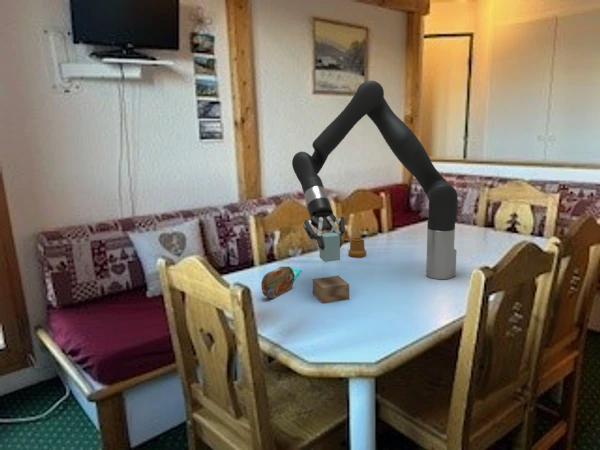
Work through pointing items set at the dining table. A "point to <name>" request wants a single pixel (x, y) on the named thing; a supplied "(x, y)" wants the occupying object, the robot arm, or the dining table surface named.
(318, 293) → the walnut plinth
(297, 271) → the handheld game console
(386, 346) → the dining table surface
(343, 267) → the dining table surface
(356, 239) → the ornamental finial
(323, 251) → the teal block
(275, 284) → the tin
